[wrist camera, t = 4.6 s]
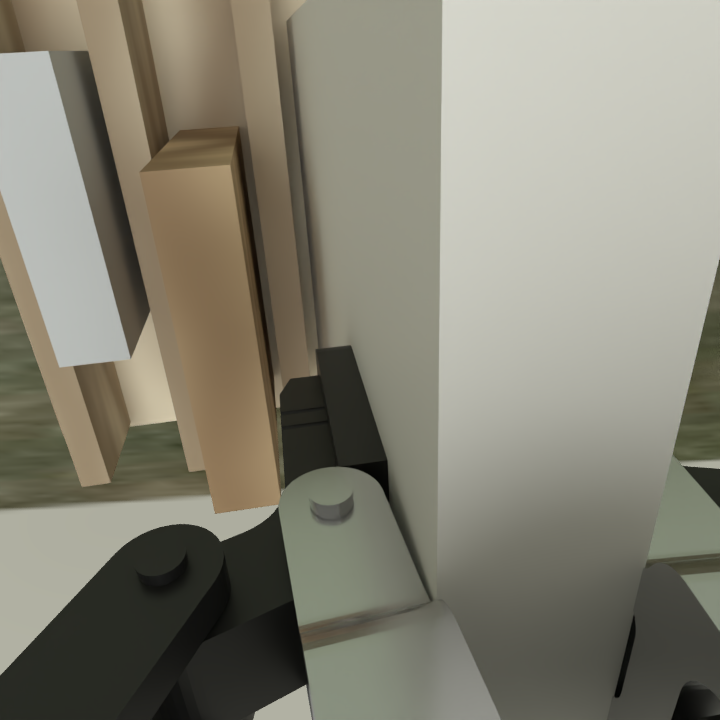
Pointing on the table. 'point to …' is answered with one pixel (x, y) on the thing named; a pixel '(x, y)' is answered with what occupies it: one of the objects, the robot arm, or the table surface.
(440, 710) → the robot arm
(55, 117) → the offcut grey
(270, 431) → the offcut oak
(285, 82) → the rack
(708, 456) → the table surface
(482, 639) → the sheet
